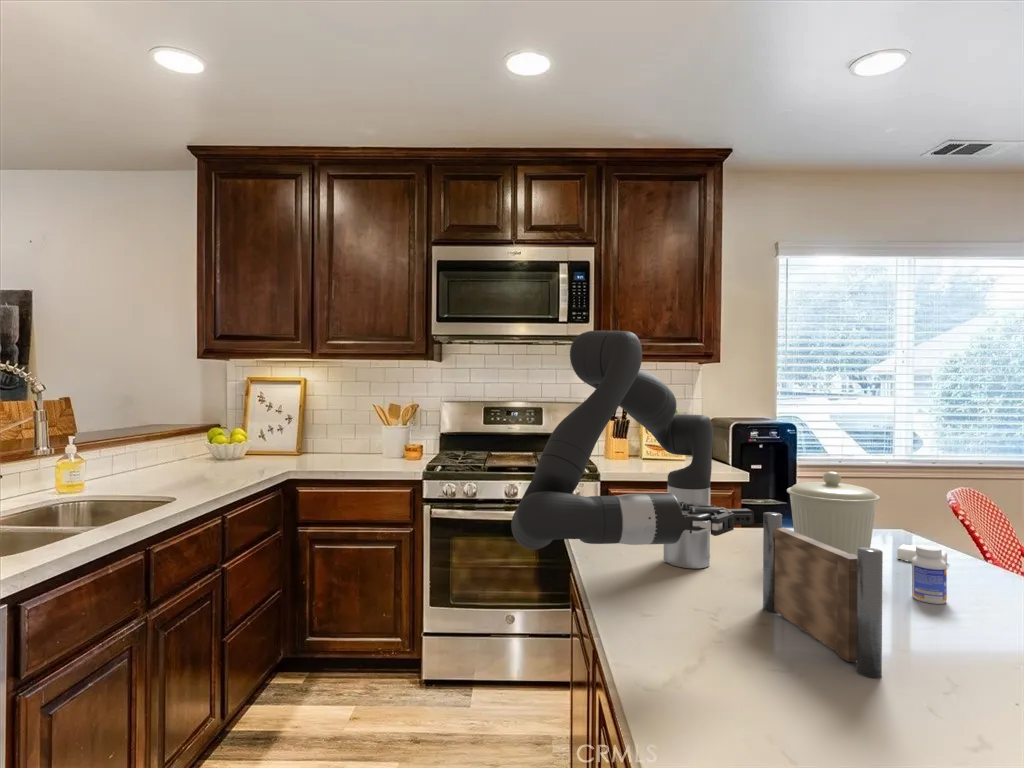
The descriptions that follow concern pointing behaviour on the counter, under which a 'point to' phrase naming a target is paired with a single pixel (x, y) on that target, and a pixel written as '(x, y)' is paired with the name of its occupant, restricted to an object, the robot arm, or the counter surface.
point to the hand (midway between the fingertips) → (751, 516)
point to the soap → (913, 553)
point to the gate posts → (866, 597)
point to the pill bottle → (929, 575)
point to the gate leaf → (817, 590)
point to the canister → (834, 512)
